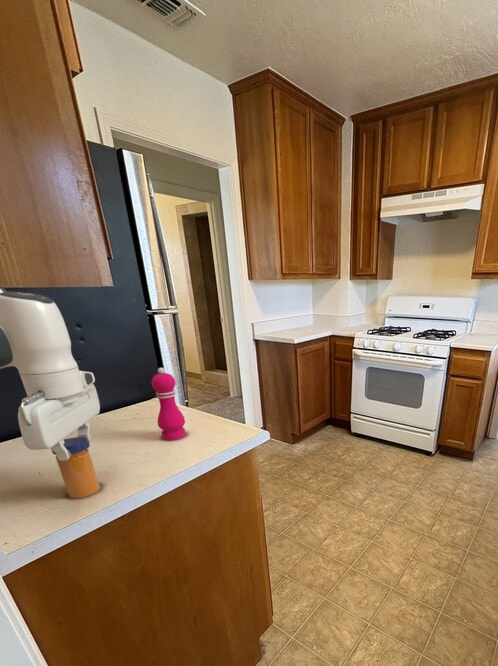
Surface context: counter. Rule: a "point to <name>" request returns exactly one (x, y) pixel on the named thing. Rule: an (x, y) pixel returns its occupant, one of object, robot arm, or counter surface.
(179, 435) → the pepper mill
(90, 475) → the jar
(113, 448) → the counter surface
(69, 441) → the jar lid
